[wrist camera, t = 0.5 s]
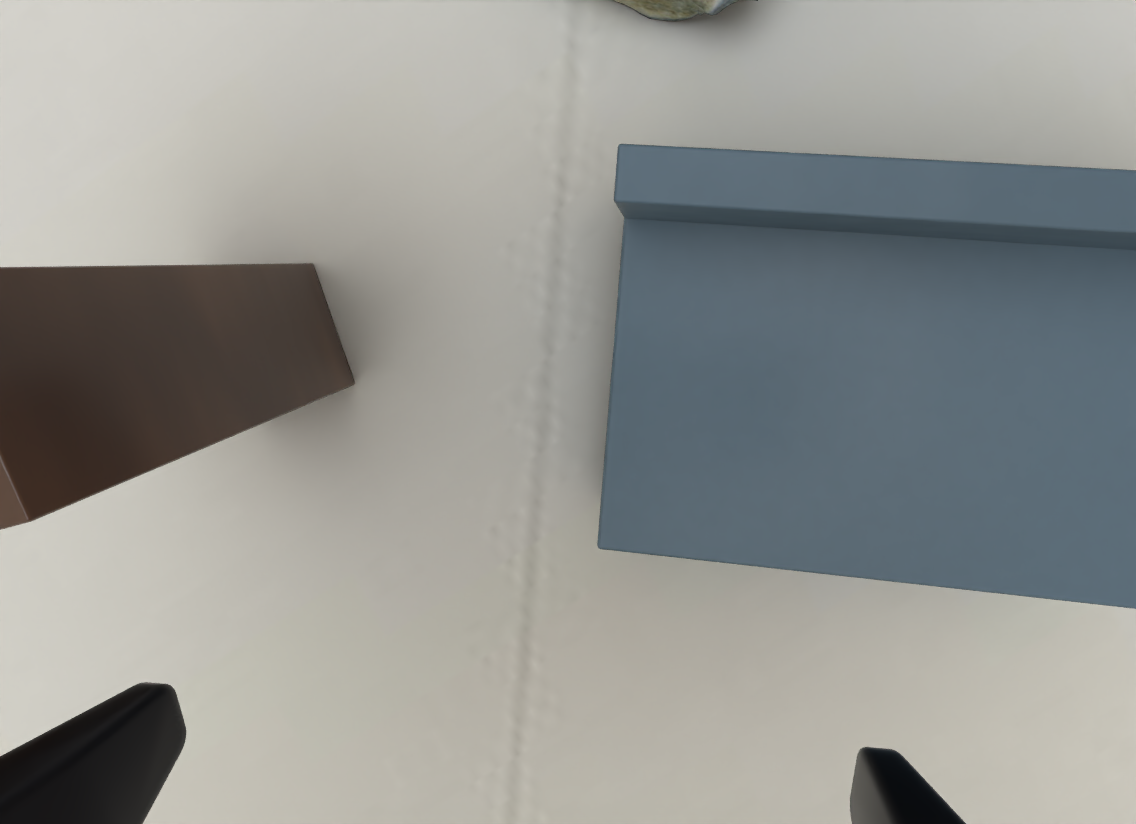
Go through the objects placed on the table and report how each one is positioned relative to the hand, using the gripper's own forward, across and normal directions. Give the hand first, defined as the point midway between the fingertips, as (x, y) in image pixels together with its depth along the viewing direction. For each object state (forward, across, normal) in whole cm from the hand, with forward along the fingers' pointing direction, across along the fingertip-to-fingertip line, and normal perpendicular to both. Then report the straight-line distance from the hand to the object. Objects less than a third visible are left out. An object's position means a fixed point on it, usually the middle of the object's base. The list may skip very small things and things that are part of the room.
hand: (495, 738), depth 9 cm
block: (+14, +11, -1) cm, 18 cm away
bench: (+15, -8, 0) cm, 17 cm away
